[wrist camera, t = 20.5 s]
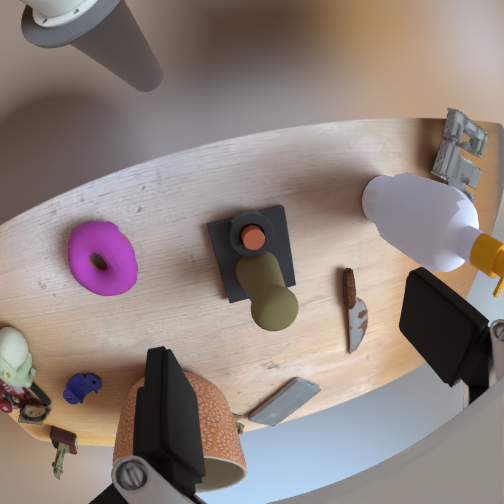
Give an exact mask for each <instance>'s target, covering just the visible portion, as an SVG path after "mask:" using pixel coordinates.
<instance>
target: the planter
mask: <svg viewBox="0 0 504 504" xmlns="http://www.w3.org/2000/svg"><path fill="white" fill-rule="evenodd" d="M183 372H184V374H185V375H186V377H187V379H188V381H189V382H190V384H191V386H192V387H193V389H194V391H195V393H196V395H197V400H198V411H199V421H200V430H201V438H202V447H203V454H204V462H205V469H206V476H205V477H202V481H203V483H202V484H195V488H196V493H198V492H199V493H200V492H209V491H215V490H220V489H223V488H227V487H230V486H232V485H235V484H237V483H239V482H240V481H242V480H243V479H244V478H245V477H246V475H247V467H246V463H245V459H244V454H243V450H242V447H241V443H240V439H239V436H238V432H237V428H236V425H235V422H234V419H233V415H232V412H231V410H230V407H229V405H228V402H227V400H226V398H225V396H224V395H223V393H222V392H221V391H220V390H219V388H218V387H216V386H215V385H214V384H213V383H212V382H210V381H209V380H207V379H205V378H203V377H201V376H199V375H196V374H193V373H190V372H185V371H183ZM144 379H145V377H143V378H141V379H140V380H138V381H137V382H136V383H135V384H134V385H133V386H132V387H131V389H130V391H129V392H128V394H127V397H126V399H125V402H124V405H123V408H122V412H121V415H120V420H119V424H118V429H117V434H116V440H115V446H114V453H113V466H114V464H115V463H116V462H117V461H118V460H119V459H121V458H123V457H125V456H130V455H131V456H133V433H134V418H135V406H136V395H137V390H138V388H139V387H141V386H144Z"/></svg>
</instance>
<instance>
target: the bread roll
mask: <svg viewBox="0 0 504 504" xmlns="http://www.w3.org/2000/svg"><path fill="white" fill-rule="evenodd" d="M50 411H51V408H50V407H48V405H46V404H43V406H41V405H39V404H36V403H29V402H25V404H23V405H22V406H21V408H20V415H19V416H20V417H19V419H18V422H21V423H27V424H28V423H31V424H39V425H41V424H42V423H43V422H44V421H45V420H46V417H47V415H49V412H50Z"/></svg>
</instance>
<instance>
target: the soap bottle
mask: <svg viewBox="0 0 504 504" xmlns="http://www.w3.org/2000/svg"><path fill="white" fill-rule="evenodd" d="M362 207H363V211H364V213H365V215H366V217H367V218H368V219H369V220H371V221H372V222H373V223H375V225H376V227H377V229H378V231H379V233H380V236H381V237H382V238H383V239H384V240H386V241H387V242H388V243H389V244H391V245H392V246H394V247H395V248H397V249H398V250H400V251H401V252H403V253H404V254H406V255H407V256H408V257H410V258H411V259H413V260H414V261H415V262H417V263H418V264H420V265H421V266H422V267H424V268H425V269H428V270H432V271H444V272H450V271H452V270H454V269H456V268H457V267H459V266H461V265H462V264H463V263H464V262H465V261H467V262H468V263H470V264H471V265H473V266H474V267H476V268H477V269H479V270H481V271H482V272H483V273H485V274H486V275H488V276H489V277H491V278H494V277H496V276H497V275H498V276H500V277H501V278H500V280H499V282H498V284H497V287H496V288H495V290H494V292H493V295H494V297H495V298H497V297H498V295H499V293H500V291H501V289H502V287H503V285H504V243H502V242H500V241H498V240H497V239H495V238H493V237H491V236H489V235H487V234H486V233H484V232H482V231H480V230H478V227H479V224H478V217H477V212H476V209H475V208H474V206H473V204H472V202H471V201H470V200H469V199H468V197H467V196H466V195H465V194H464V193H462V192H461V191H460V190H458V189H456V188H454V187H451V186H449V185H446V184H443V183H440V182H437V181H434V180H431V179H428V178H425V177H421V176H418V175H415V174H411V173H408V172H407V173H402V174H398V175H395V176H394V177H389V176H386V175H383V176H378V177H375V178H374V179H373V180H371V181H370V182H369V183H368V185H367V186H366V188H365V190H364V193H363V197H362Z"/></svg>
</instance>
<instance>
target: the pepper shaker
mask: <svg viewBox="0 0 504 504" xmlns="http://www.w3.org/2000/svg"><path fill="white" fill-rule="evenodd" d="M236 276H237V279H238V280H239V282H240V284H241V285H242V287H243V289H244V290H245V292H246V294H247V295H248V297H249V299H250V300H251V302H252V304H251V314H252V318H253V319H254V321H255V323H256V324H257V325H258V326H259V327H261V328H262V329H265V330H268V331H279V330H283V329H285V328H287V327H288V326H289V325H291V324H292V323H293V321H294V320H295V319H296V316H297V313H298V301H297V299H296V297H295V295H294V294H293V293H292V292H291V291H290V290H289V289H288V288H286V286H285V283H284V280H283V277H282V273H281V270H280V267H279V263H278V261H277V259H276V257H275V256H274V255H273V254H272V253H270V252H268V251H265V252H264V253H262V254H260V255H256V256H252V257H248V256H243V257H242V258H241V259H240V260H239V262H238V264H237V266H236Z"/></svg>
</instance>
